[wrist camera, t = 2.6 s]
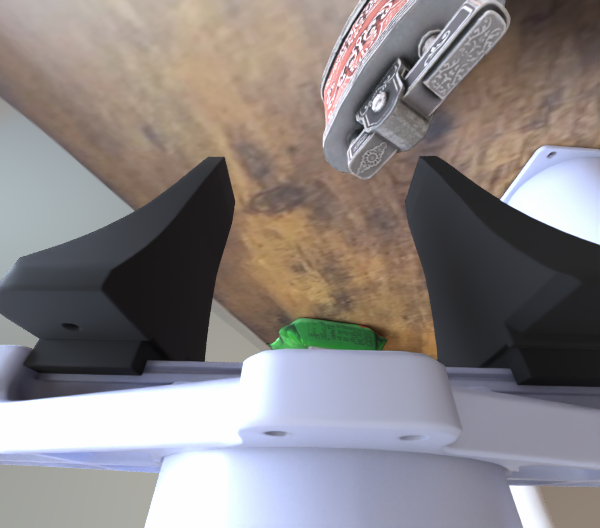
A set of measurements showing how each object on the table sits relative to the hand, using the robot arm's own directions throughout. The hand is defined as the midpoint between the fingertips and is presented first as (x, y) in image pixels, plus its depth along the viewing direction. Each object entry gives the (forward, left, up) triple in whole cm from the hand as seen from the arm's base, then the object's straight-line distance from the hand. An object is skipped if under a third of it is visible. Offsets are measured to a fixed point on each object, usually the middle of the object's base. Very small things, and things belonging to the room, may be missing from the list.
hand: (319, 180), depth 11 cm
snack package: (-5, +32, -10) cm, 34 cm away
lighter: (-3, -2, -10) cm, 11 cm away
